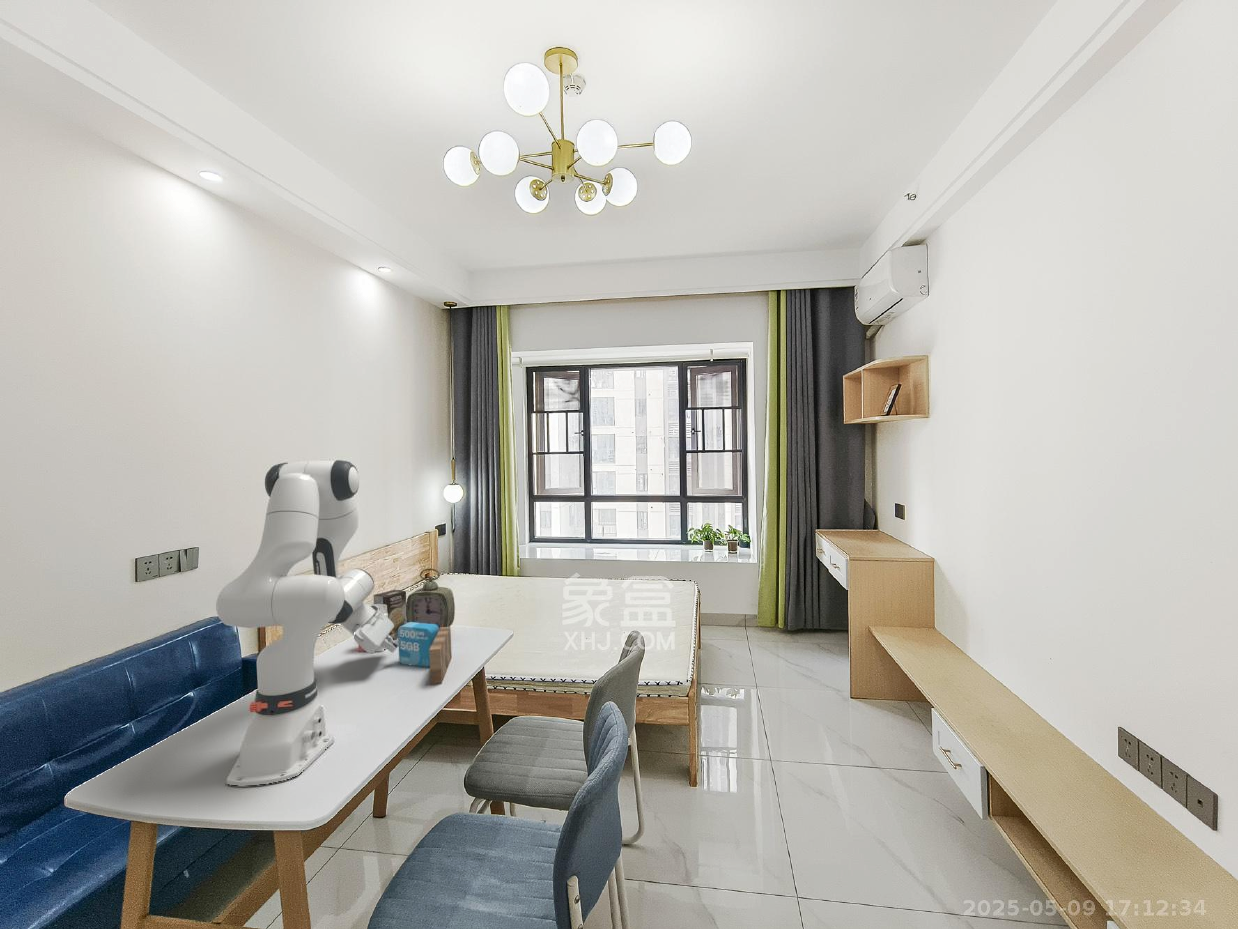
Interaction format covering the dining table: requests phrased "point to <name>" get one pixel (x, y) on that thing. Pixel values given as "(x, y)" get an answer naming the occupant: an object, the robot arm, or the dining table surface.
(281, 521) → the robot arm
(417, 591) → the tabletop clock
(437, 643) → the walnut board
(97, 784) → the dining table surface
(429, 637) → the data package
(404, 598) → the coffee box
